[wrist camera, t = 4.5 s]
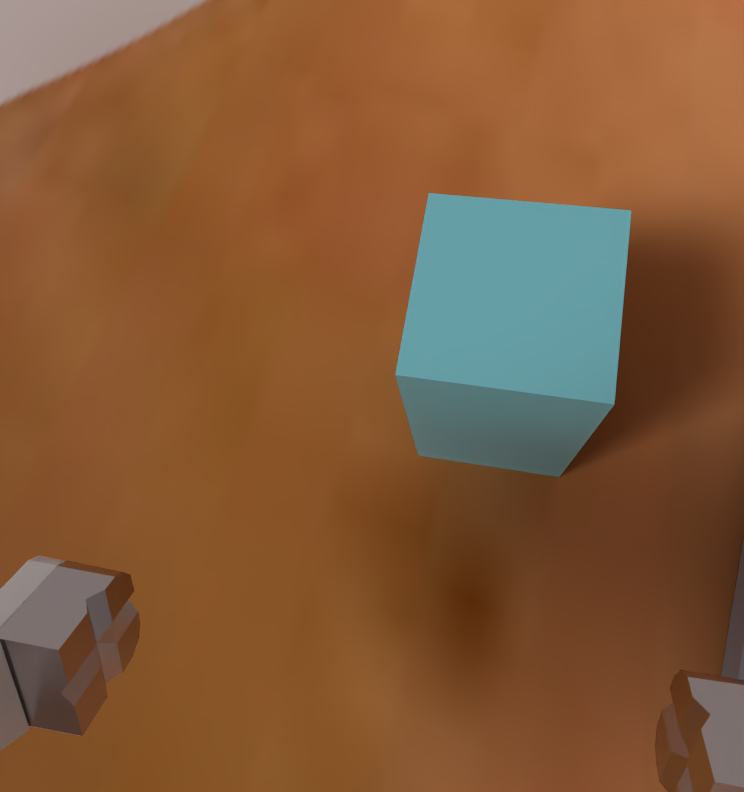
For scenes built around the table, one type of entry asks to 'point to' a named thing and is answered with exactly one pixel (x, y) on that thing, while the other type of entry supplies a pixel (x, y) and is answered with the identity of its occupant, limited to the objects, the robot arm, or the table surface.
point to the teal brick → (512, 330)
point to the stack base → (736, 630)
